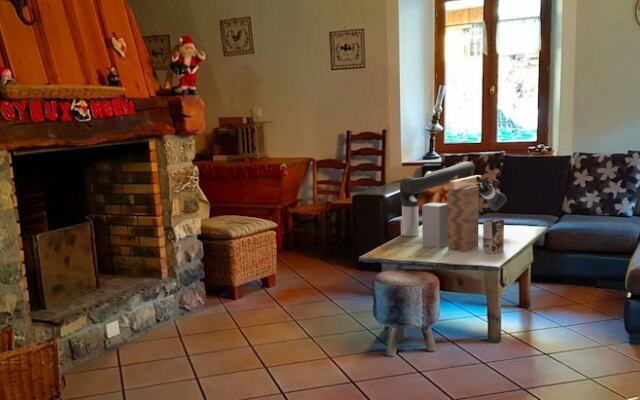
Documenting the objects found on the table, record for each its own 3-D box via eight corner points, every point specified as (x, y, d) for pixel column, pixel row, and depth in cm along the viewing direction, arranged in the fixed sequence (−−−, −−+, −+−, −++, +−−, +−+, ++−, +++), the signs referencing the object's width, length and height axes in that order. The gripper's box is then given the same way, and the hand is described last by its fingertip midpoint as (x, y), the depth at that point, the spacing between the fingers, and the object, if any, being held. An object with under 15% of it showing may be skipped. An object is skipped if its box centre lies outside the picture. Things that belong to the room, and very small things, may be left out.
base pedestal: (422, 246, 324) (422, 205, 321) (432, 242, 332) (431, 202, 329) (439, 248, 318) (439, 206, 315) (448, 244, 326) (448, 203, 322)
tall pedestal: (448, 249, 315) (447, 187, 310) (460, 244, 325) (460, 184, 320) (465, 252, 308) (465, 189, 304) (478, 246, 319) (478, 185, 314)
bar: (450, 189, 305) (450, 181, 304) (475, 182, 326) (475, 175, 325) (455, 189, 303) (455, 181, 302) (481, 183, 324) (481, 175, 323)
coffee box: (493, 254, 302) (493, 222, 300) (482, 252, 307) (482, 220, 305) (504, 251, 308) (504, 219, 305) (493, 249, 313) (493, 217, 310)
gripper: (475, 183, 338) (463, 170, 326) (500, 184, 329) (487, 171, 316) (472, 195, 336) (459, 183, 324) (496, 197, 327) (484, 184, 315)
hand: (473, 177), depth 320 cm, fingers closed on bar, 3 cm apart
